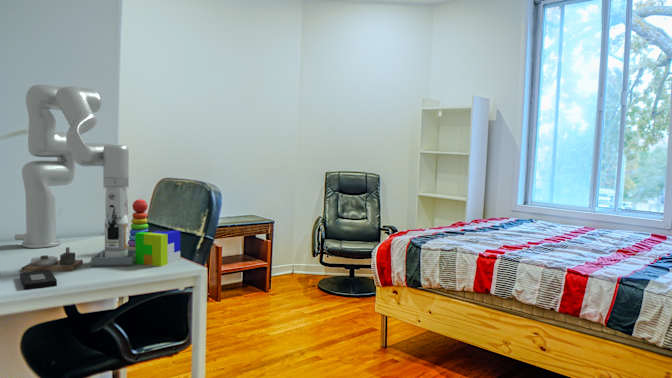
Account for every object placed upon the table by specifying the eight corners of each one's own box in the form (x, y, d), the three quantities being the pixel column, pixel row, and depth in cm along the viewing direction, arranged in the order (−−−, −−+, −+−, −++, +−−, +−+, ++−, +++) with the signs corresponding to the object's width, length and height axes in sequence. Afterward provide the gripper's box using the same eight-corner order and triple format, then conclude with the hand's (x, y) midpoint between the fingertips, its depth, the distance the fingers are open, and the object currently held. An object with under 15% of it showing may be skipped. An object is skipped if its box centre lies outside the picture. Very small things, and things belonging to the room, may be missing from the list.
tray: (91, 266, 158) (91, 257, 158) (102, 258, 170) (102, 250, 170) (132, 266, 161) (132, 257, 160) (140, 257, 173) (140, 249, 172)
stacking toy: (142, 253, 180) (142, 201, 179) (122, 251, 182) (122, 200, 180) (154, 249, 188) (154, 199, 186) (135, 247, 189) (135, 198, 188)
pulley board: (21, 271, 150) (21, 251, 150) (35, 264, 160) (35, 244, 159) (72, 271, 152) (71, 250, 152) (82, 263, 162) (82, 244, 162)
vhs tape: (50, 276, 148) (50, 269, 148) (57, 287, 136) (56, 280, 136) (20, 279, 143) (19, 272, 143) (24, 291, 132) (24, 284, 132)
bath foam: (127, 259, 163) (127, 197, 162) (103, 260, 161) (103, 197, 159) (128, 254, 170) (128, 195, 168) (105, 255, 168) (105, 195, 166)
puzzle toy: (180, 260, 171) (180, 231, 170) (160, 266, 161) (160, 235, 161) (155, 257, 174) (155, 228, 173) (135, 263, 165) (135, 233, 164)
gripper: (121, 185, 156) (121, 242, 157) (134, 181, 173) (134, 232, 174) (95, 184, 154) (96, 242, 156) (111, 180, 171) (111, 232, 173)
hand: (116, 236), depth 165 cm, fingers closed on bath foam, 7 cm apart
